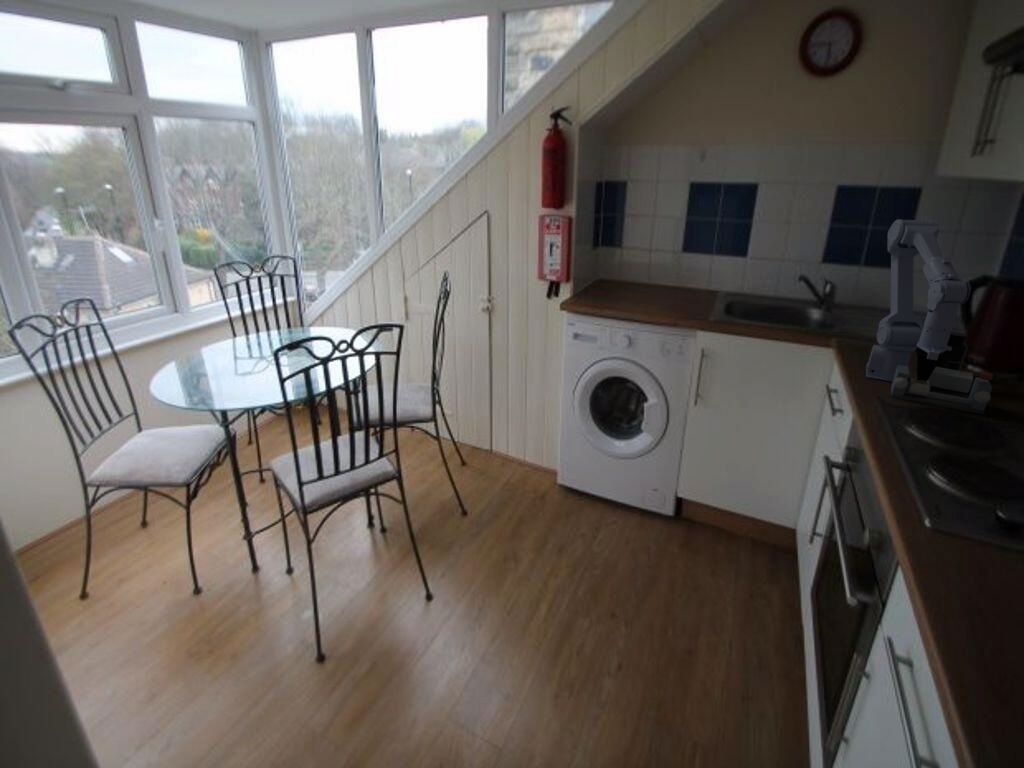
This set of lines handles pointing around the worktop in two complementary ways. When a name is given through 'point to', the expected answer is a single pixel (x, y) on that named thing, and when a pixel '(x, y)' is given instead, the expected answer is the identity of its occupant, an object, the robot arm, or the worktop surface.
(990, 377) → the plunger
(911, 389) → the carriage
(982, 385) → the rail stand
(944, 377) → the skincare box
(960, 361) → the supplement bottle
